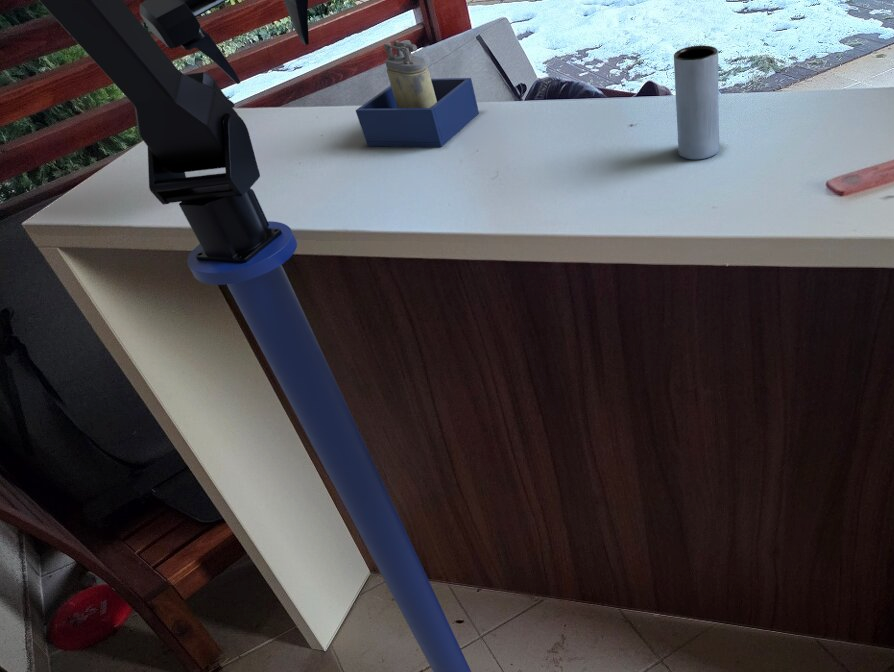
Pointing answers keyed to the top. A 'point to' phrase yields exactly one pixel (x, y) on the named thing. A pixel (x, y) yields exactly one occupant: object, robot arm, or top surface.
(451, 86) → the box
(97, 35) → the robot arm
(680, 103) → the grey tall cylinder
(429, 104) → the lighter
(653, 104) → the top surface
